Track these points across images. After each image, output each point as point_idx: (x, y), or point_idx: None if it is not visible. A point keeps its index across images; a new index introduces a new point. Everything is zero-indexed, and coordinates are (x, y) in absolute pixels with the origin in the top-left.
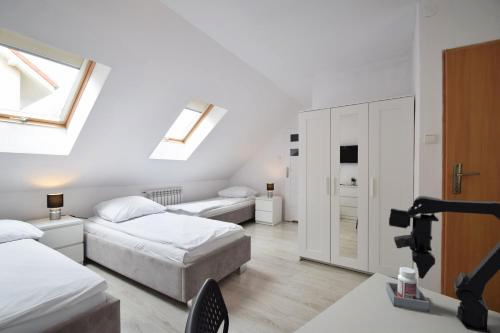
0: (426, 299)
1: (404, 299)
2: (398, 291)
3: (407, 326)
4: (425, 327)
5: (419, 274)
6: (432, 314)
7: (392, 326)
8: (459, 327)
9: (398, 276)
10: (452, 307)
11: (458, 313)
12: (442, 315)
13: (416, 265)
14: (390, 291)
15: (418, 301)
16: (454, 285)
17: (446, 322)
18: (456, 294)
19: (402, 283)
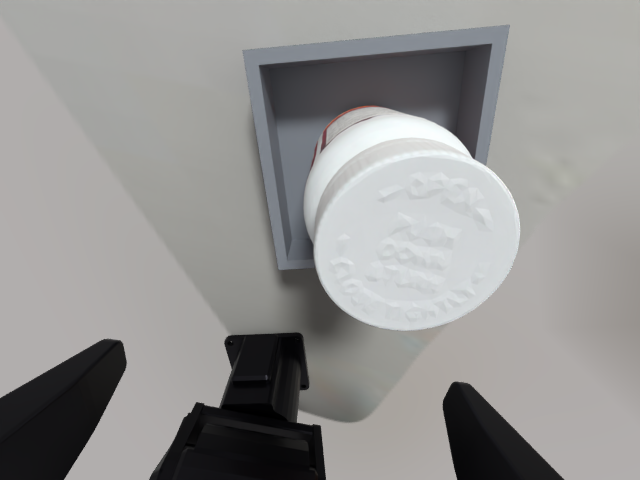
0: (311, 265)
1: (256, 133)
2: (355, 110)
3: (80, 104)
4: (135, 194)
5: (42, 382)
6: (273, 253)
7: (11, 6)
8: (223, 318)
9: (397, 119)
10: (372, 340)
11: (263, 352)
12: (285, 288)
13: (469, 404)
14: (349, 41)
15: (270, 217)
16: (303, 474)
17: (234, 287)
18: (197, 444)
19: (324, 145)
